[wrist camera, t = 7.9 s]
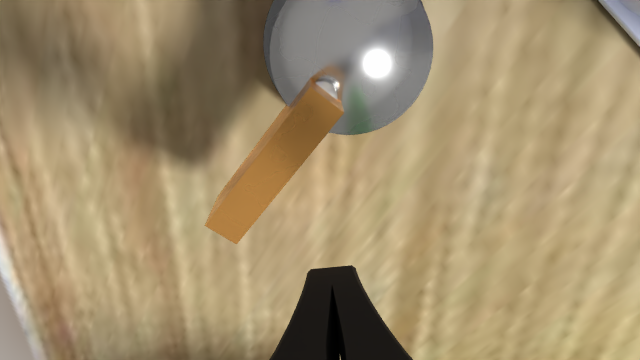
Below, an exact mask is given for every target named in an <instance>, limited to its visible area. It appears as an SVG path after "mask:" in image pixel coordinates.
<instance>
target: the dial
mask: <svg viewBox="0 0 640 360" xmlns="http://www.w3.org/2000/svg"><path fill="white" fill-rule="evenodd" d="M432 57H433V37H432V31H431V26H430V23H429V20H428V17H427V14H426V12H425V10H424V8H423V6H422V4H421V2H420V1H419V0H287V1H286V2H285V4H284V6H283V7H282V9H281V11H280V12H279V15H278V17H277V19H276V22H275V24H274V28H273V31H272V35H271V42H270V65H271V71H272V75H273V79H274V82H275V84H276V87H277V89H278V91H279V93H280V95H281V97H282V98H283V100H284V101H285V103H286V104H287V105H286V106H285V107H284V109H283V110H282V111H281V113H280V114H279V115H278V117H277V118H276V119H275V121H274V122H273V123H272V125H271V126H270V127H269V129H268V130H267V131H266V133H265V134H264V135H263V137H262V138H261V139H260V141H259V142H258V143H257V145H256V146H255V147H254V149H253V150H252V151H251V153H250V154H249V155H248V157H247V158H246V159H245V161H244V162H243V163H242V165H241V166H240V167H239V169H238V170H237V171H236V173H235V174H234V175H233V177H232V178H231V179H230V181H229V182H228V183H227V185H226V186H225V187H224V189H223V190H222V191H221V193H220V194H219V195H218V197H217V199H216V201H215V204H214V206H213V208H212V210H211V213H210V215H209V217H208V219H207V222H206V224H205V226H206V227H208V228H210V229H211V230H213V231H215V232H216V233H218V234H220V235H222V236H223V237H225V238H227V239H228V240H230V241H232V242H233V243H235V244H237V243H238V242H239V241H240V239H241V238H242V237H243V236H244V235H245V233H246V232H247V231H248V230H249V228H250V227H251V226H252V225H253V224H254V222H255V221H256V220H257V219H258V217H259V216H260V215H261V214H262V213H263V211H264V210H265V209H266V208H267V206H268V205H269V204H270V203H271V202H272V200H273V199H274V198H275V197H276V195H277V194H278V193H279V192H280V191H281V189H282V188H283V187H284V186H285V185H286V183H287V182H288V181H289V180H290V178H291V177H292V176H293V175H294V174H295V172H296V171H297V170H298V169H299V167H300V166H301V165H302V164H303V163H304V161H305V160H306V159H307V158H308V156H309V155H310V154H311V153H312V152H313V150H314V149H315V148H316V147H317V145H318V144H319V143H320V142H321V141H322V139H323V138H324V137H325V136H326V134H327V133H328V132H329V133H335V134H342V135H355V134H362V133H368V132H371V131H374V130H377V129H379V128H382V127H384V126H386V125H388V124H389V123H391V122H393V121H394V120H396V119H397V118H398V117H400V116H401V115H402V114H403V113H404V112H405V111H406V110H407V109H408V108H409V107H410V106H411V105H412V104H413V103H414V101H415V100H416V99H417V97H418V96H419V94H420V92H421V91H422V89H423V87H424V85H425V83H426V80H427V78H428V75H429V72H430V68H431V63H432Z"/></svg>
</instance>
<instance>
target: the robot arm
mask: <svg viewBox="0 0 640 360" xmlns="http://www.w3.org/2000/svg"><path fill="white" fill-rule="evenodd" d="M598 1H599V2H600V3H601V4H602V5H603V6H604V7H605V9H606V10H607V11H608V12H609V13H610V14H611V15H612V16H613V18H614V19H615V20H616V21H617V22H618V23H619V24H620V25H621V27H622V28H623V29H624V30H625V31H626V32H627V33H628V34H629V35H630V37H631V38H632V39H633V40H634V41H635V42H636V43H637V44H638V46H639V47H640V0H598ZM340 356H341V360H413V359H412V358H411V357H410V356H409V355H408V353H407V352H406V351H405V350H404V348H403V347H402V346H401V345H400V343H399V342H398V341H397V339H396V338H395V337H394V335H393V334H392V333H391V331H390V330H389V329H388V327H387V326H386V324H385V323H384V321H383V320H382V318H381V317H380V315H379V314H378V312H377V310H376V309H375V307H374V306H373V304H372V302H371V301H370V299H369V297H368V295H367V294H366V292H365V290H364V288H363V286H362V284H361V282H360V279H359V277H358V274H357V272H356V268H354V267H353V266H352V265H351V266H341V267H330V268H320V269H311V270H310V271H309V272H308V273H307V277H306V281H305V285H304V288H303V291H302V294H301V296H300V299H299V302H298V304H297V306H296V309H295V311H294V313H293V316H292V318H291V320H290V322H289V325H288V327H287V329H286V330H285V332H284V334H283V336H282V338H281V340H280V342H279V344H278V346H277V348H276V350H275V351H274V353H273V355H272V357H271V358H270V360H340Z"/></svg>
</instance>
